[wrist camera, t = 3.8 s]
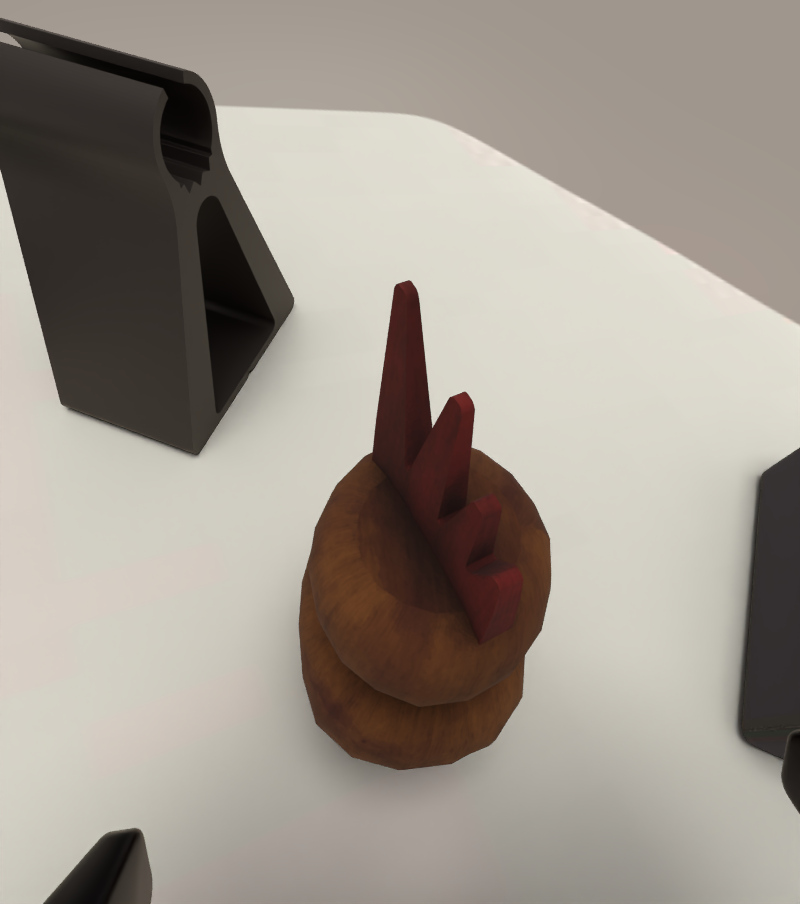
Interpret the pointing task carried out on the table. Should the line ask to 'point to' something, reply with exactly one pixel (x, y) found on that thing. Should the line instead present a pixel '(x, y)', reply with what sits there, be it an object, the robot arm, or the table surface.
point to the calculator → (775, 613)
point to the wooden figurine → (421, 579)
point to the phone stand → (133, 236)
